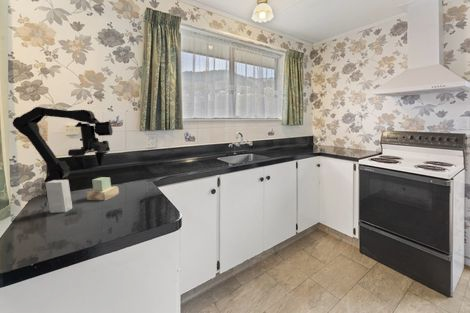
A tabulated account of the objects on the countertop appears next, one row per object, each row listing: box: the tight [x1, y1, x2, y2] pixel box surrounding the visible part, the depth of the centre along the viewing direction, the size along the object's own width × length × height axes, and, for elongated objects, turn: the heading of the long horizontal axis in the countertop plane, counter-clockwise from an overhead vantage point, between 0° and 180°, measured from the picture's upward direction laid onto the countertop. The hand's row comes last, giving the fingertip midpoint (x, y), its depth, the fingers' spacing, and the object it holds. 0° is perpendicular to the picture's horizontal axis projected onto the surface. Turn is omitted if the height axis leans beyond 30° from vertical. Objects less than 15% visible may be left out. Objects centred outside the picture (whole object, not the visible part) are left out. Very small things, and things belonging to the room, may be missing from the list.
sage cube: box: [91, 176, 112, 191], centre depth 104 cm, size 5×5×5 cm
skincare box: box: [44, 179, 73, 214], centre depth 88 cm, size 6×4×12 cm
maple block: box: [86, 185, 120, 201], centre depth 105 cm, size 9×9×4 cm
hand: (92, 167), depth 113 cm, fingers open, 9 cm apart
